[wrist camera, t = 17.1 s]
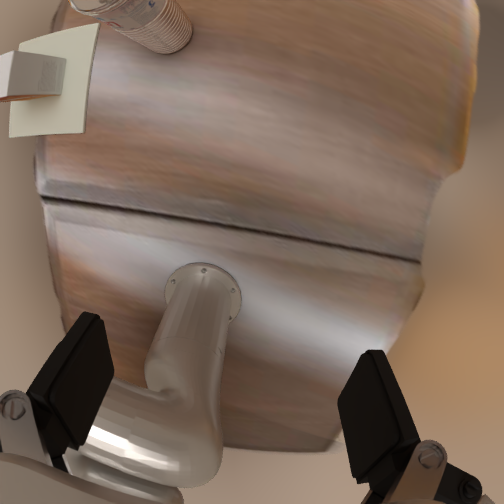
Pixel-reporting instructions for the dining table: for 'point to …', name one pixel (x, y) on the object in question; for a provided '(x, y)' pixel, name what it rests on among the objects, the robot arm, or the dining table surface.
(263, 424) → the dining table surface
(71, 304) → the dining table surface
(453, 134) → the dining table surface
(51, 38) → the mat
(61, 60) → the small box
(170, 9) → the water bottle
